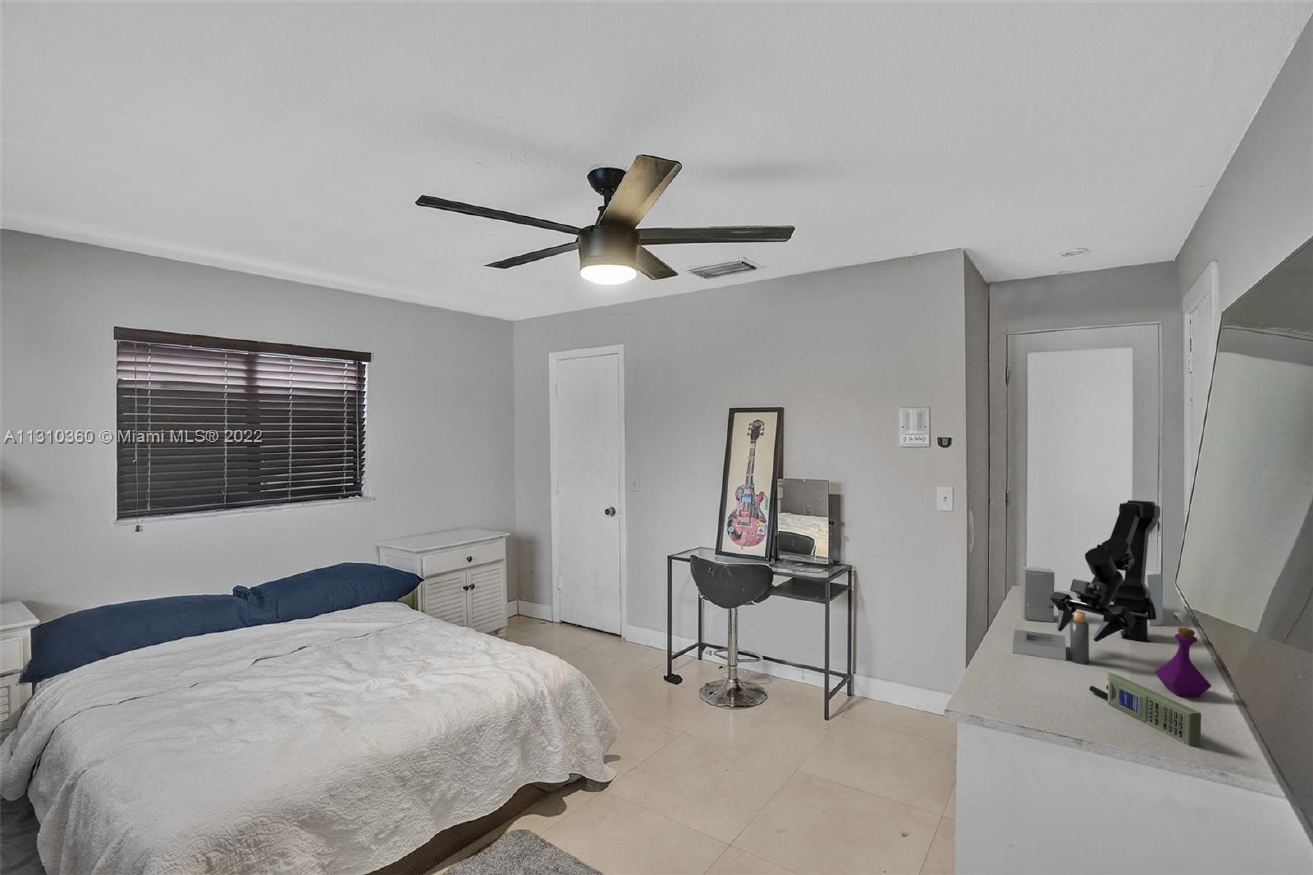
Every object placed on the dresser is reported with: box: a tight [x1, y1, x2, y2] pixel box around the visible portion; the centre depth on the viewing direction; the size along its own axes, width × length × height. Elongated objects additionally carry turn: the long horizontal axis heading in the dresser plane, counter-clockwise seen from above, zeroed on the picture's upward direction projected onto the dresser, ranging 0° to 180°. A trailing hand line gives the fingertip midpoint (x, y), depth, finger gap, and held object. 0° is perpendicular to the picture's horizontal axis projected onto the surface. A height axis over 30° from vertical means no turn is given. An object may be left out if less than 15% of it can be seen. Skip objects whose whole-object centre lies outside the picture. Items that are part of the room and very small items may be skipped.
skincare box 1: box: [1021, 566, 1055, 623], centre depth 202 cm, size 8×7×16 cm
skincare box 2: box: [1093, 569, 1164, 627], centre depth 204 cm, size 21×6×16 cm, turn 6°
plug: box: [1069, 611, 1090, 665], centre depth 164 cm, size 4×4×12 cm
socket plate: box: [1012, 629, 1067, 661], centre depth 173 cm, size 12×12×3 cm
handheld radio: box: [1088, 672, 1202, 747], centre depth 133 cm, size 7×3×25 cm
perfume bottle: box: [1154, 612, 1212, 698], centre depth 144 cm, size 8×8×18 cm
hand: (1076, 635), depth 164 cm, fingers open, 9 cm apart
